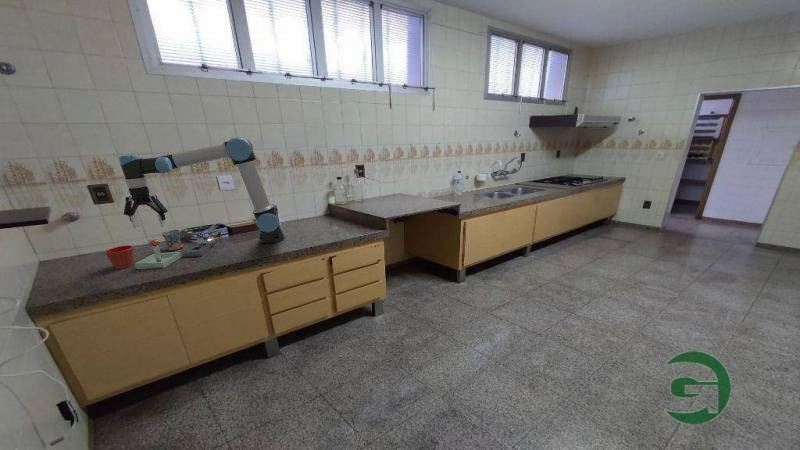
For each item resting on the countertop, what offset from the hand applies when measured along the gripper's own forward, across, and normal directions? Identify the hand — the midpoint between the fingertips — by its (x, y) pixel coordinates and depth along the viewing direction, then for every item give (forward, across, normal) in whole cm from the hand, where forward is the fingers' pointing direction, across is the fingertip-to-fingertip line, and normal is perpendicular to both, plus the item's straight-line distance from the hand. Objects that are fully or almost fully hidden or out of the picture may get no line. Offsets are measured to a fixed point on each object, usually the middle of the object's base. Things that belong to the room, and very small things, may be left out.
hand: (150, 227), depth 155 cm
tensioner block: (+21, -12, -17) cm, 29 cm away
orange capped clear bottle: (+20, +1, 0) cm, 20 cm away
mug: (+21, +7, -22) cm, 31 cm away
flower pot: (+20, +18, +2) cm, 27 cm away
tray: (+20, +1, 0) cm, 20 cm away
